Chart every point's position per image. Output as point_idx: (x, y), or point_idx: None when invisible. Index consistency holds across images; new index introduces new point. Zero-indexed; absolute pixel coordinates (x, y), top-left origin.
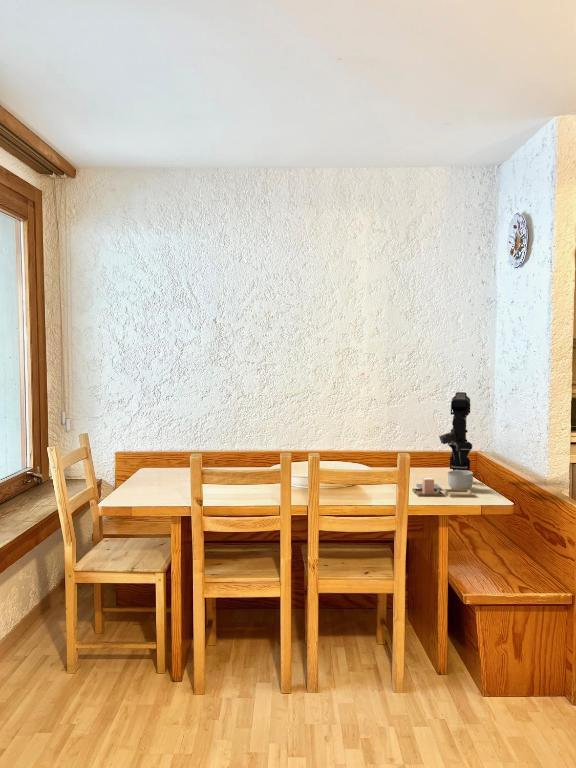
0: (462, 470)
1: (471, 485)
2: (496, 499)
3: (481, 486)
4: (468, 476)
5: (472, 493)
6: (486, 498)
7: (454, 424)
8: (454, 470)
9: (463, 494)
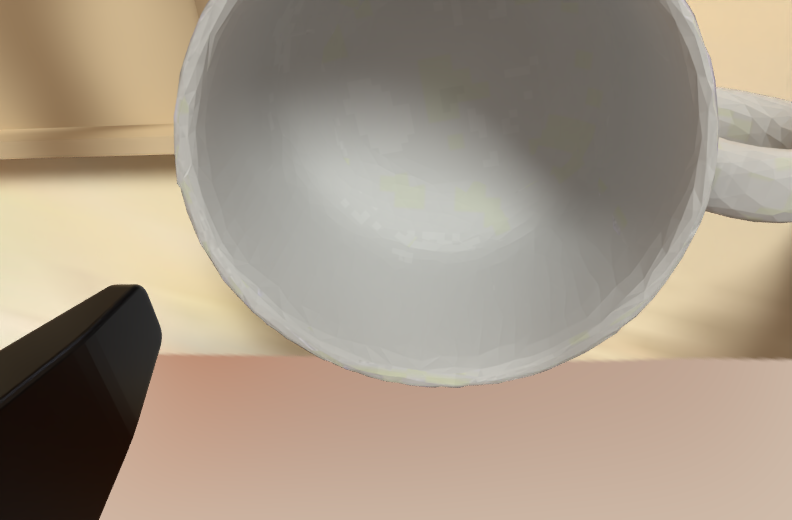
0: (648, 285)
1: (339, 230)
2: (14, 315)
3: (636, 356)
4: (239, 261)
5: (6, 140)
6: (17, 246)
7: None
8: (713, 131)
9: (45, 27)
